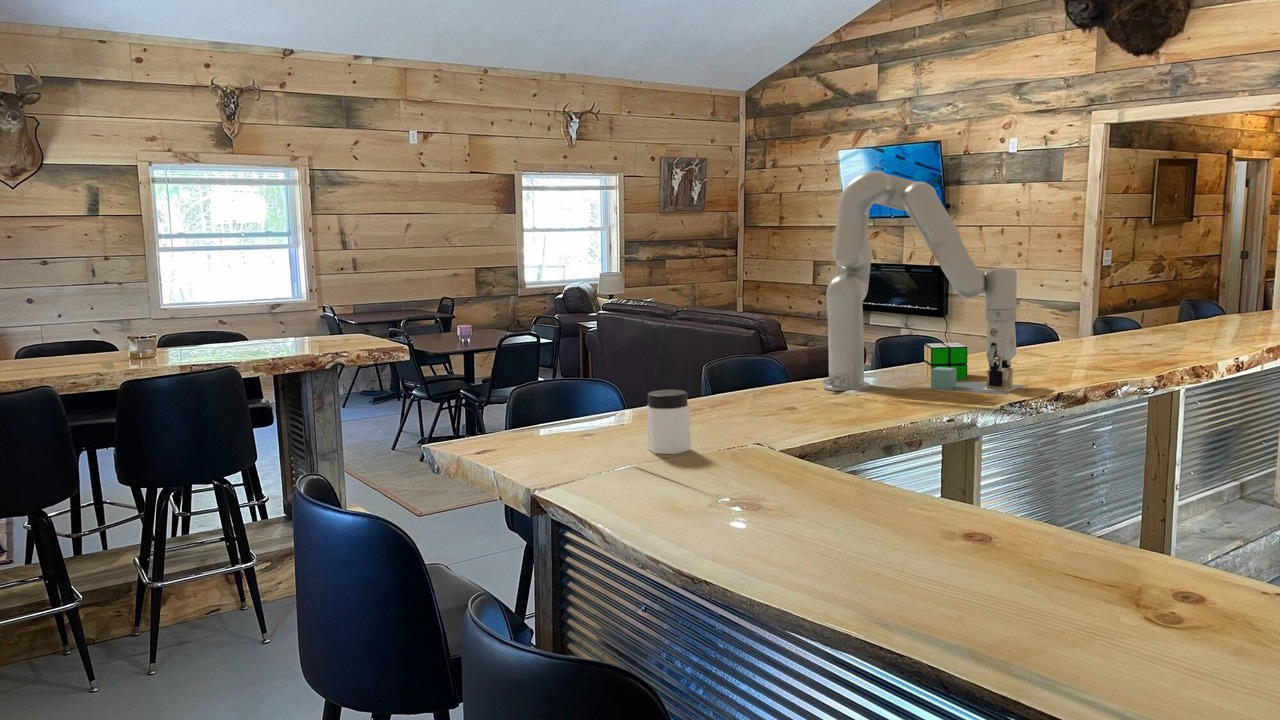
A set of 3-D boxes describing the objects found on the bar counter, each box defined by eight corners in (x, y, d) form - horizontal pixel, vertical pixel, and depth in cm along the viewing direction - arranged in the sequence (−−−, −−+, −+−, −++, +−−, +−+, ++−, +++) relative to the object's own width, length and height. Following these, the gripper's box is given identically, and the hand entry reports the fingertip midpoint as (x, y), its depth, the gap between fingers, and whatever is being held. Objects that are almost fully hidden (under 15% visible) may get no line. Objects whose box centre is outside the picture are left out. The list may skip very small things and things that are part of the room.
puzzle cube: (959, 376, 271) (959, 342, 269) (967, 381, 261) (967, 346, 259) (923, 377, 272) (923, 343, 270) (931, 382, 262) (931, 347, 260)
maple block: (1006, 390, 239) (1006, 371, 239) (986, 388, 242) (986, 370, 242) (1012, 387, 243) (1012, 368, 242) (993, 386, 246) (993, 367, 246)
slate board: (1007, 397, 234) (1007, 394, 234) (926, 391, 247) (926, 388, 247) (1027, 388, 246) (1027, 384, 246) (949, 382, 259) (949, 379, 259)
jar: (670, 443, 197) (668, 387, 195) (698, 448, 191) (696, 391, 189) (640, 451, 191) (637, 393, 189) (667, 456, 185) (665, 397, 183)
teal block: (949, 389, 245) (949, 370, 244) (930, 387, 248) (930, 369, 247) (956, 386, 249) (956, 368, 248) (938, 385, 252) (938, 367, 251)
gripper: (1004, 319, 231) (1003, 390, 234) (1026, 313, 244) (1024, 380, 247) (974, 318, 236) (973, 388, 238) (997, 312, 249) (996, 378, 252)
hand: (999, 383), depth 243 cm, fingers open, 5 cm apart
